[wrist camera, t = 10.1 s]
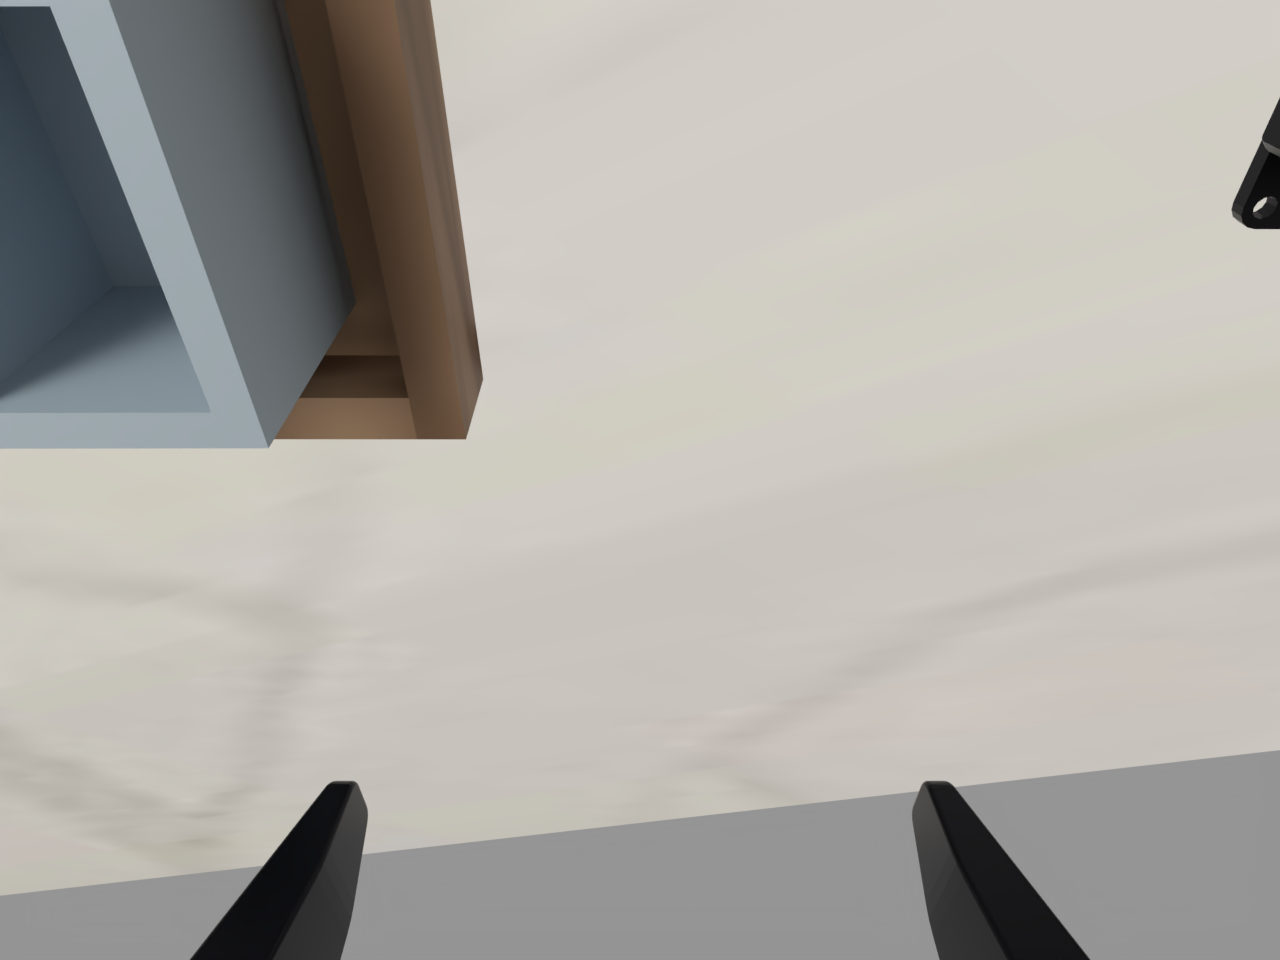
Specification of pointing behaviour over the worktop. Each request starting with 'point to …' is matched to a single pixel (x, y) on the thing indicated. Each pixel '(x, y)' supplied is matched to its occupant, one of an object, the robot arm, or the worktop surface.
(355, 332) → the wooden tray
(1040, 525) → the worktop surface
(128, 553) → the worktop surface
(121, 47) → the box
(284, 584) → the worktop surface
